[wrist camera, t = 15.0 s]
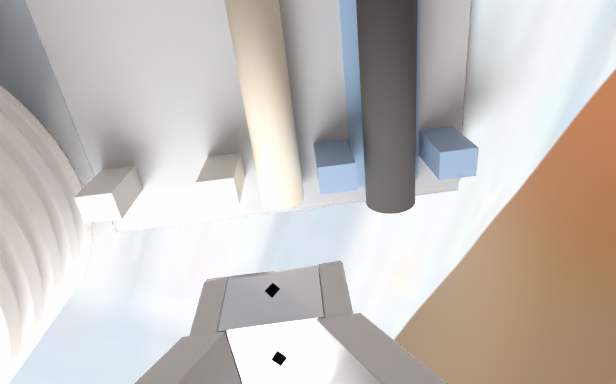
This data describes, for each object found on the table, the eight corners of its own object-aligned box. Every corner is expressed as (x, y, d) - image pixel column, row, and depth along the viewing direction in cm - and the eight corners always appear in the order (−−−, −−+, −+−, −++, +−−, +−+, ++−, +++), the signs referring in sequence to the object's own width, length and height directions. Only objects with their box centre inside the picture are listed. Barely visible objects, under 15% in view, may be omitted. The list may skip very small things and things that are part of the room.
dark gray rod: (350, -38, 24) (359, -42, 21) (408, -46, 24) (427, -51, 21) (362, 193, 32) (370, 216, 28) (407, 187, 32) (421, 210, 28)
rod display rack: (28, -16, 25) (-35, -17, 20) (469, -71, 25) (514, -86, 20) (121, 225, 33) (92, 266, 28) (453, 184, 33) (482, 218, 28)
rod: (227, -5, 25) (219, -4, 22) (277, -11, 25) (276, -11, 22) (263, 191, 31) (261, 212, 29) (303, 186, 31) (305, 206, 28)
